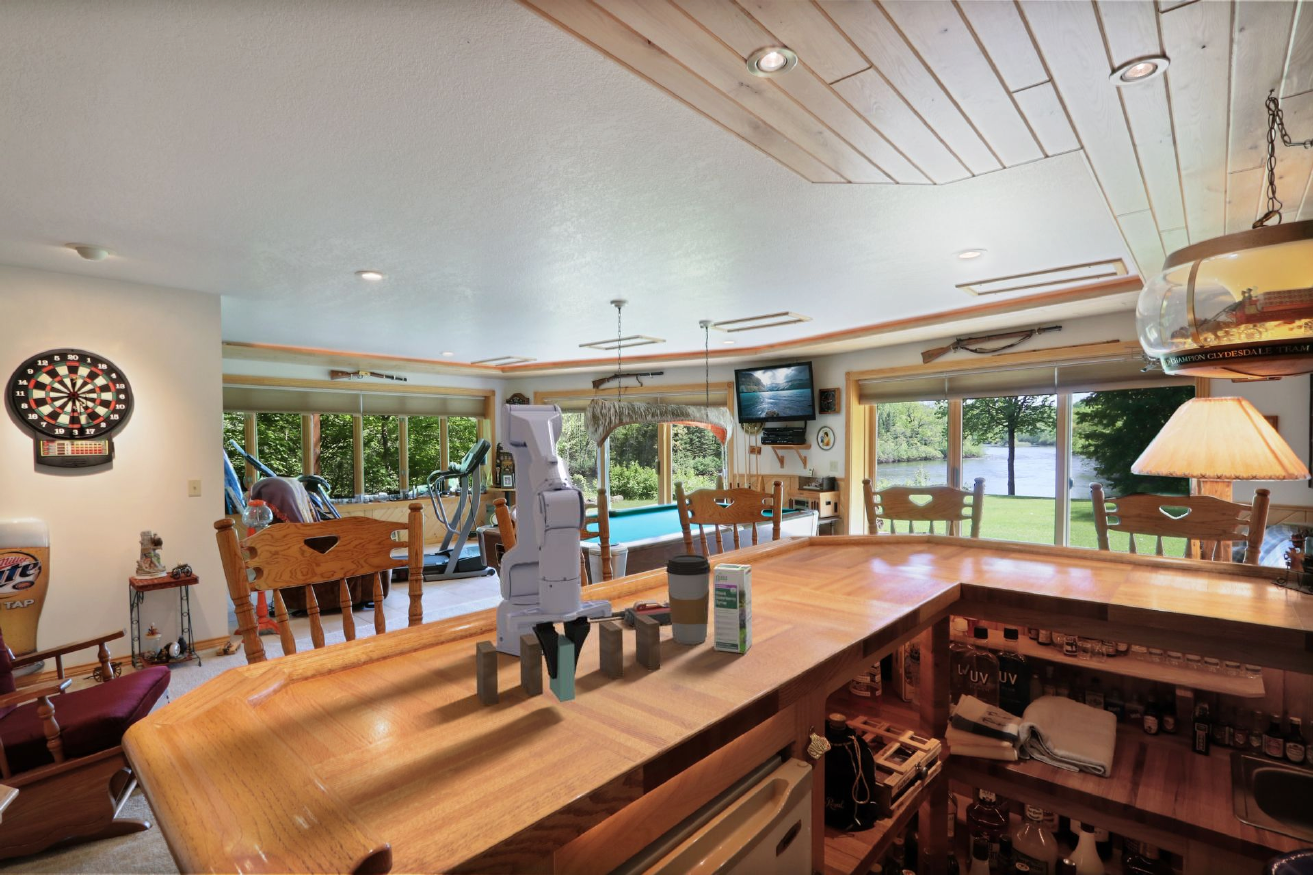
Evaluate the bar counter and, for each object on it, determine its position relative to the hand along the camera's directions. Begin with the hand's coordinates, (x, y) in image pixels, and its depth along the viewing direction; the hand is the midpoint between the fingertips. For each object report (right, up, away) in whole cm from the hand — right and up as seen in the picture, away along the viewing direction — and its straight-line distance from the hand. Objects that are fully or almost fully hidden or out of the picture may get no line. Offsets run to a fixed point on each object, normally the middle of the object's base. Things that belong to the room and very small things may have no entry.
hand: (561, 674), depth 84 cm
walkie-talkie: (+10, -6, +41) cm, 42 cm away
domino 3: (0, -3, 0) cm, 3 cm away
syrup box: (+27, -5, +24) cm, 36 cm away
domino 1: (-11, -5, +4) cm, 13 cm away
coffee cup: (+19, -5, +29) cm, 35 cm away
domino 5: (+12, -5, +16) cm, 20 cm away
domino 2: (-6, -5, +7) cm, 10 cm away
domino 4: (+6, -5, +13) cm, 15 cm away
